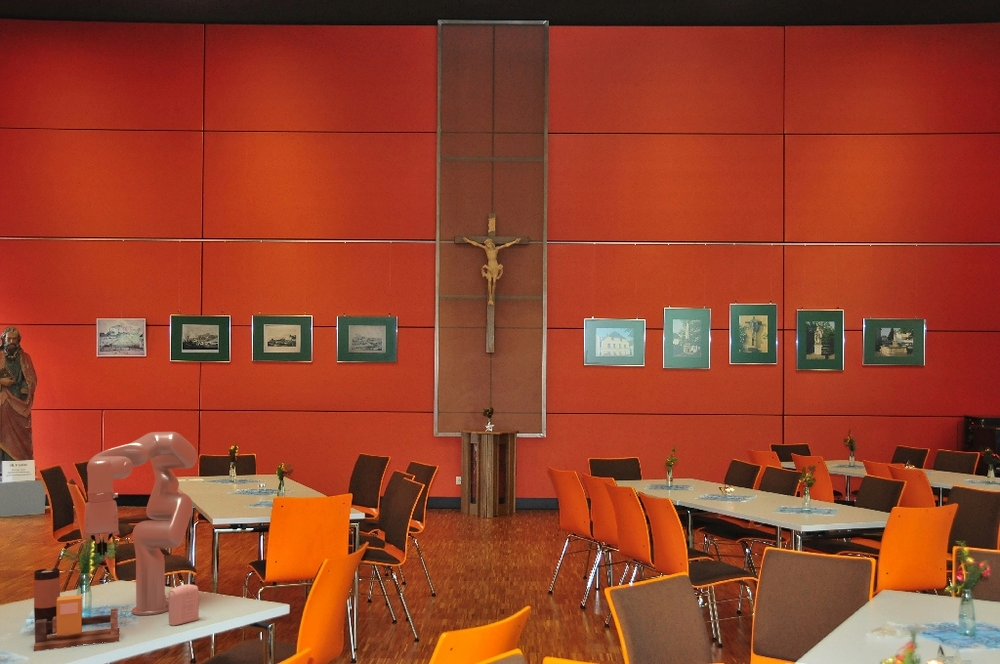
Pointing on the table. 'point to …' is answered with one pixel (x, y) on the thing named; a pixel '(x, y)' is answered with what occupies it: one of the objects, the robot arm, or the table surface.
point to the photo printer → (183, 604)
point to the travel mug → (46, 594)
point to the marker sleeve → (69, 615)
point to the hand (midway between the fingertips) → (102, 554)
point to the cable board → (76, 639)
